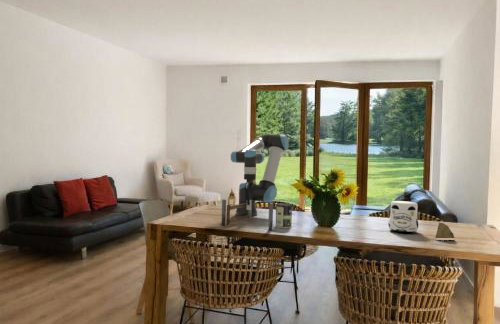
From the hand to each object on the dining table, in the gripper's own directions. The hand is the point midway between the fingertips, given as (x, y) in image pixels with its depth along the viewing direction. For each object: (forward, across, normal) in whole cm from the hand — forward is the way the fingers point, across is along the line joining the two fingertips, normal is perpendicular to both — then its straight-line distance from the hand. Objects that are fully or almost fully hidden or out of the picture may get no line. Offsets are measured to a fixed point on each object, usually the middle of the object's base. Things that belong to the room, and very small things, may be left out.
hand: (248, 209), depth 274 cm
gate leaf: (+7, -6, +4) cm, 10 cm away
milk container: (+9, +15, -95) cm, 97 cm away
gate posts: (+8, -18, -4) cm, 20 cm away
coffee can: (+8, -4, -24) cm, 26 cm away
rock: (+9, 0, -117) cm, 117 cm away
